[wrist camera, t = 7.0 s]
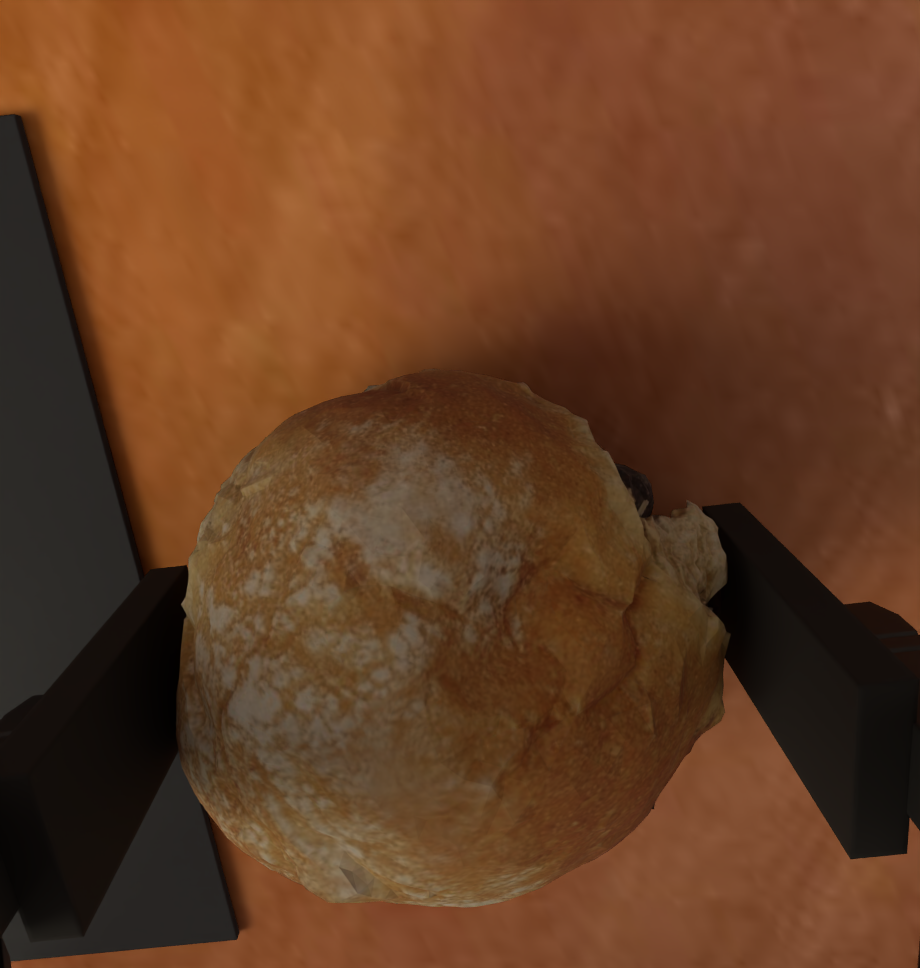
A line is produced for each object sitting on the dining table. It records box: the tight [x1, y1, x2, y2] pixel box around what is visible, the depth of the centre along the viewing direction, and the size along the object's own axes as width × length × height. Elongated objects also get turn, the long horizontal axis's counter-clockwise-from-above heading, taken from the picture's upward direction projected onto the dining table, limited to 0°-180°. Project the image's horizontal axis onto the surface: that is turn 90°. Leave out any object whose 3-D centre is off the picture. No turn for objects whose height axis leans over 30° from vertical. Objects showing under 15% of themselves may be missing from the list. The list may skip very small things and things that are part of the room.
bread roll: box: [176, 369, 731, 907], centre depth 15 cm, size 10×10×8 cm
